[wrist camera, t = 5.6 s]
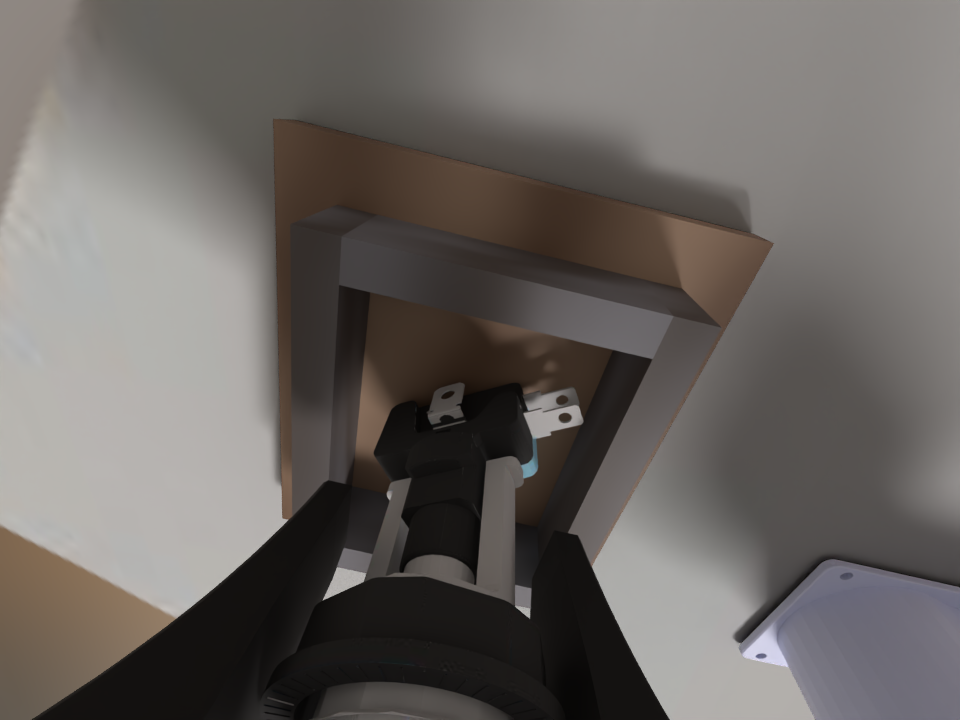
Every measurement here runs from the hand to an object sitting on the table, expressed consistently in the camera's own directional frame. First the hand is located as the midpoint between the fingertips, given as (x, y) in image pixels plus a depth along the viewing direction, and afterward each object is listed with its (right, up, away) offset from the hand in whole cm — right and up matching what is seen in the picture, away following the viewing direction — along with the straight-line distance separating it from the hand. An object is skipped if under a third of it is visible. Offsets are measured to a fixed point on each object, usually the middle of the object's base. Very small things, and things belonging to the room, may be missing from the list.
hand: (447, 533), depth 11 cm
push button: (+1, +3, +4) cm, 5 cm away
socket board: (+1, +3, +6) cm, 6 cm away
